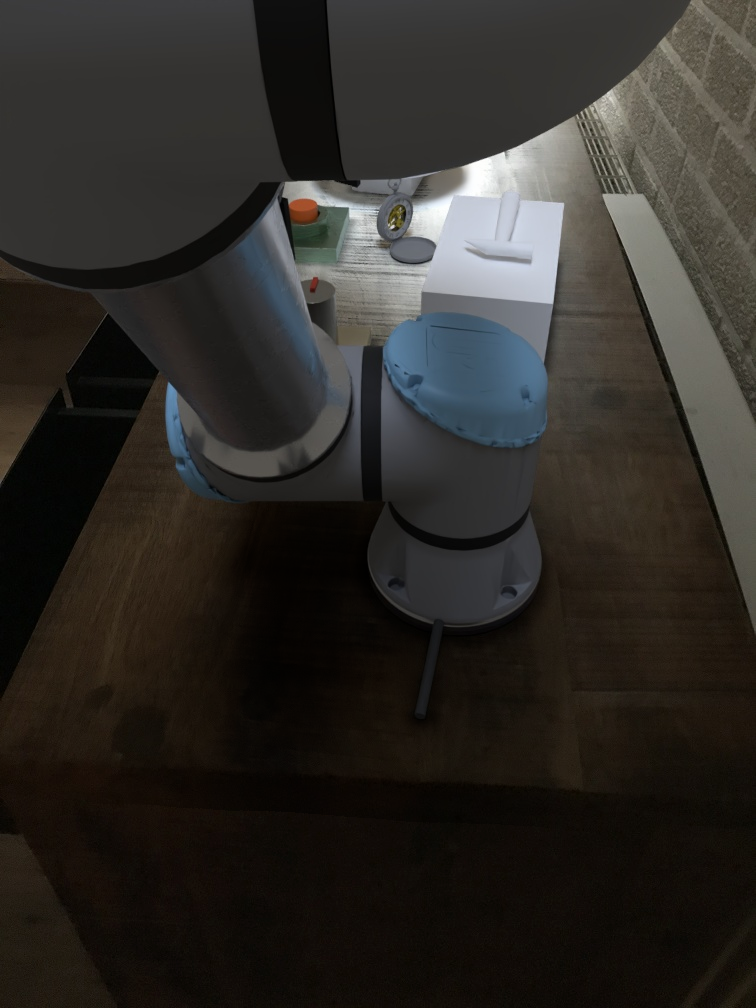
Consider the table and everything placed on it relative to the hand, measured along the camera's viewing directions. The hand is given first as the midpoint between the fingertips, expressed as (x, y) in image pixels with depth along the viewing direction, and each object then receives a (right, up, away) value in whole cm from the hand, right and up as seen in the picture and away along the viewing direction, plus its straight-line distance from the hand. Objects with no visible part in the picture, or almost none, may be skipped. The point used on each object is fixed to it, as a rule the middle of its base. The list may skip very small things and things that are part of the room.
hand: (315, 219), depth 80 cm
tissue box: (+21, -3, +22) cm, 31 cm away
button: (-4, +12, +33) cm, 36 cm away
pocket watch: (+10, +7, +33) cm, 36 cm away
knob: (-1, -11, +12) cm, 16 cm away
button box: (-4, +10, +36) cm, 37 cm away
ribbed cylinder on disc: (+8, +24, +50) cm, 56 cm away
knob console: (-1, -13, +14) cm, 18 cm away
